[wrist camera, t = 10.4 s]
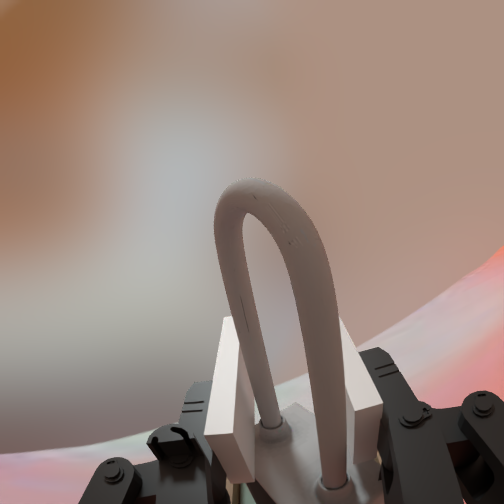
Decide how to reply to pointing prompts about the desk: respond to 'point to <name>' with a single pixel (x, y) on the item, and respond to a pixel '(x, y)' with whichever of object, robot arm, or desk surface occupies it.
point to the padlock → (317, 354)
